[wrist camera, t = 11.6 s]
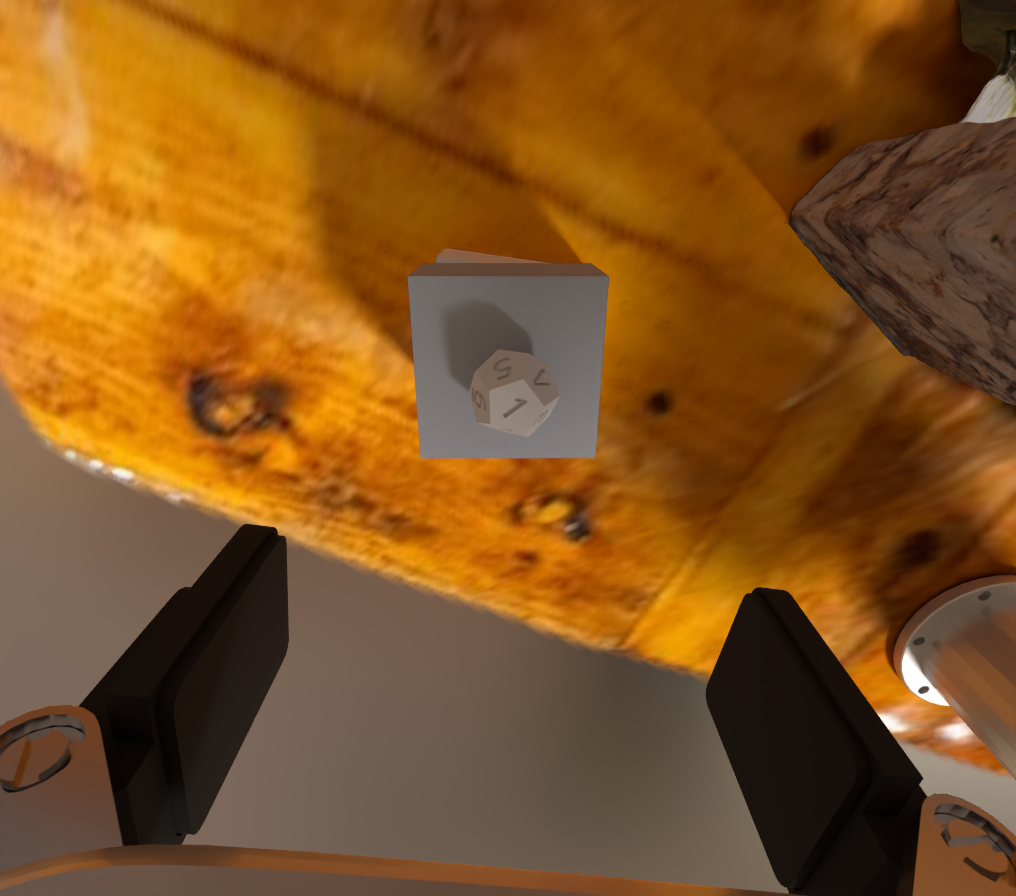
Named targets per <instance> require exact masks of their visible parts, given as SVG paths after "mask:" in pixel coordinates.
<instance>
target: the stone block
mask: <svg viewBox="0 0 1016 896" xmlns="http://www.w3.org/2000/svg"><path fill="white" fill-rule="evenodd" d="M785 223H786V222H785ZM789 224H790V226H791V227H792V228H793V230H794V231H795V232H796V234H797V235H798V236H799V238H800V239H801V241H802V242H803V243H804V245H805V246H807V247H808V248H809V249H810V250H811V251H812V252H813V254H814V255H815V256H816V258H817V259H818V260H819V262H820V263H821V264H822V265H823V267H824V268H825V269H826V270H827V272H828V273H829V274H830V275H831V276H832V277H833V278H834V279H835V281H836V282H837V283H838V284H839V285H840V286H841V287H842V288H843V289H844V290H845V291H846V292H847V293H848V294H850V296H851V297H852V298H853V299H854V300H855V301H856V302H857V303H858V305H859V306H860V307H861V308H862V309H863V310H864V311H865V312H866V314H867V315H868V316H869V317H870V318H871V319H872V320H873V321H874V323H875V324H876V325H877V326H878V327H879V328H880V329H881V331H882V332H883V333H884V334H885V336H886V337H887V338H888V339H889V340H890V341H891V342H892V343H893V344H894V345H895V346H896V347H897V349H898V350H899V351H900V352H901V353H902V355H904V356H907V355H909V356H912V357H916V358H917V359H918V360H920V361H922V362H924V363H926V364H928V365H929V366H931V367H934V368H936V369H937V370H938V371H940V372H942V373H944V374H946V375H948V376H951V377H954V378H956V379H958V380H960V381H962V382H964V383H966V384H969V385H971V386H973V387H975V388H976V389H978V390H980V391H981V392H983V393H984V394H986V395H989V396H992V397H995V398H998V399H1000V400H1003V401H1005V402H1007V403H1010V404H1013V405H1015V406H1016V117H1011V118H1006V119H1002V120H1000V121H997V122H992V123H974V122H963V123H956V124H952V125H948V126H944V127H940V128H931V129H925V130H922V131H920V132H917V133H912V134H909V135H907V136H903V137H898V138H894V139H887V140H883V141H873V142H869V143H866V144H865V145H862V146H859V147H858V148H857V149H856V150H854V151H853V152H852V153H850V154H849V155H847V156H846V157H844V158H843V159H841V160H840V161H839V163H838V164H837V165H836V166H835V167H834V168H833V169H832V170H831V171H830V172H829V173H828V174H827V175H825V176H824V177H823V178H822V179H821V180H820V181H819V182H818V183H817V184H816V185H815V186H814V187H813V189H812V190H811V191H810V192H809V193H808V194H807V195H805V196H804V197H803V198H802V199H801V200H800V201H798V202H797V204H796V205H795V207H794V208H793V210H792V213H791V219H790V222H789Z"/></svg>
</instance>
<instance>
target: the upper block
mask: <svg viewBox="0 0 1016 896" xmlns="http://www.w3.org/2000/svg"><path fill="white" fill-rule="evenodd" d="M608 285H609V276H608V275H606V274H605V273H604V272H602V271H601V270H599V269H598V268H597V267H595V266H594V265H593V264H591V263H424V264H422V265H421V266H420V267H419V268H417V269H416V270H415V271H414V272H412V273H411V274H410V275H408V290H409V304H410V318H411V331H412V345H413V359H414V373H415V387H416V400H417V414H418V428H419V442H420V456H421V458H595V454H596V441H597V428H598V415H599V402H600V389H601V376H602V363H603V350H604V337H605V324H606V311H607V298H608ZM498 349H500V350H507V351H514V352H522V353H528V354H530V355H532V356H534V357H536V358H538V359H540V360H542V361H544V362H546V363H548V364H550V365H551V368H552V372H553V375H554V378H555V381H556V384H557V387H558V391H559V394H560V397H559V399H558V401H557V403H556V405H555V406H554V408H553V410H552V412H551V414H550V415H549V416H548V418H547V419H546V420H545V421H544V422H543V423H542V424H541V425H540V426H539V427H538V428H537V429H536V430H535V431H534V432H533V433H532V434H531V435H530V436H529V437H525V436H521V435H516V434H512V433H507V432H503V431H499V430H496V429H493V428H490V427H488V426H485V425H482V424H479V423H477V420H476V416H475V413H474V409H473V406H472V402H471V399H470V396H469V389H470V386H471V383H472V379H473V376H474V373H475V371H476V370H477V369H478V368H479V367H480V366H481V365H482V364H483V363H484V362H486V361H487V360H488V359H489V358H490V357H491V356H492V355H493V354H494V353H495V352H496V351H497V350H498Z"/></svg>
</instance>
